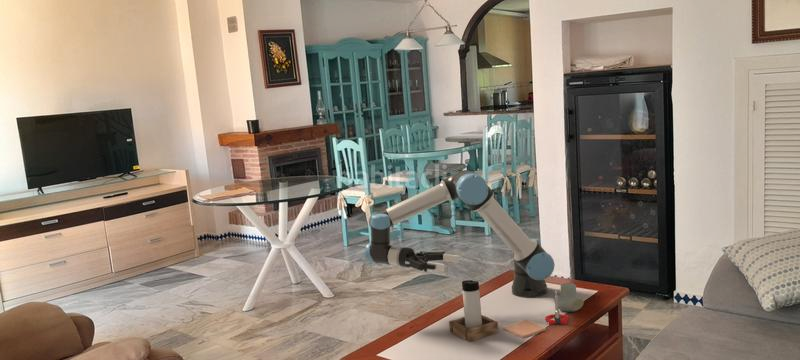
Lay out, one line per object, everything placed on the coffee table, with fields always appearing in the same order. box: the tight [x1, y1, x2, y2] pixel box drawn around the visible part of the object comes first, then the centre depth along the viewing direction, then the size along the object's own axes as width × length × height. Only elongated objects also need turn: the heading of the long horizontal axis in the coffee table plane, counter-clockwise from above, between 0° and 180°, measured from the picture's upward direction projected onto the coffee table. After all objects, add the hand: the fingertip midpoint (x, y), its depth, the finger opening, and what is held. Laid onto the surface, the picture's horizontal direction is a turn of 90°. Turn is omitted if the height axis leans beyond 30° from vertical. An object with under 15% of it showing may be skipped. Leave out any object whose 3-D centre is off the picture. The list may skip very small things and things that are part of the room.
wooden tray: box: [448, 314, 499, 343], centre depth 240 cm, size 13×13×4 cm
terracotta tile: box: [502, 319, 547, 339], centre depth 237 cm, size 11×11×1 cm
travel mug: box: [461, 279, 482, 329], centre depth 238 cm, size 6×7×20 cm
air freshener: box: [557, 282, 584, 313], centre depth 253 cm, size 11×8×10 cm
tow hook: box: [545, 290, 569, 325], centre depth 243 cm, size 8×13×9 cm
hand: (451, 263), depth 241 cm, fingers open, 13 cm apart
